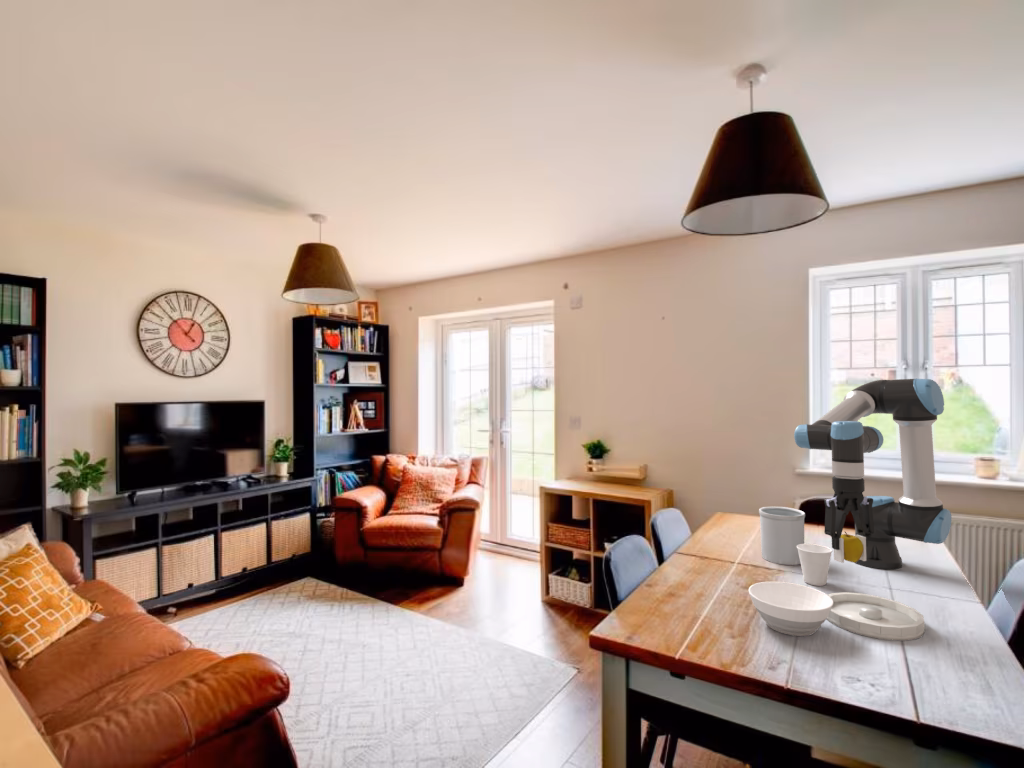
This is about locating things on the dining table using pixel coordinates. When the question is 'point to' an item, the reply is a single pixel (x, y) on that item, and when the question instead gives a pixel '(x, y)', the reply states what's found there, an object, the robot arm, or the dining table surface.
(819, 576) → the cup
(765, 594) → the bowl
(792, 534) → the utensil holder
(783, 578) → the dining table surface
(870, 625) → the ring tray
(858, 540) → the apple
